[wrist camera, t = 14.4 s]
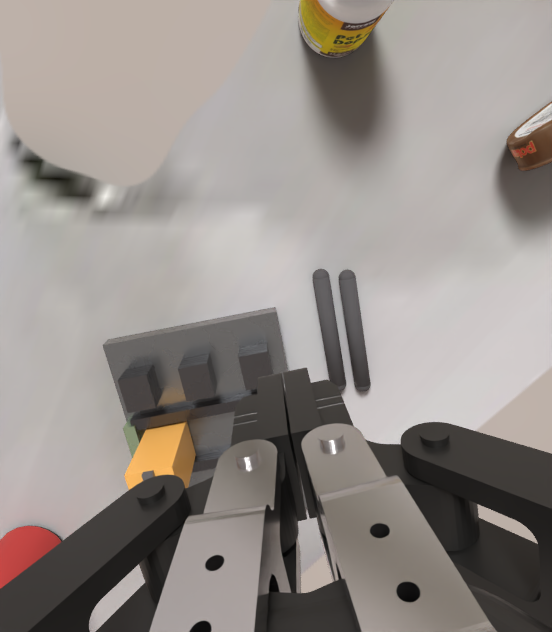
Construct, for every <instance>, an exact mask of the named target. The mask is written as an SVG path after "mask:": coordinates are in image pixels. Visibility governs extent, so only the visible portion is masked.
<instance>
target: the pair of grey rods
mask: <svg viewBox="0 0 552 632" xmlns="http://www.w3.org/2000/svg"><path fill="white" fill-rule="evenodd" d="M313 283H314V289H315V295H316V301H317V307H318V313H319V319H320V325H321V331H322V336H323V342H324V348H325V354H326V360H327V366H328V372H329V378H330V382H332V383H334V384H335V385H337V386H338V389H339V391H341V390H343V389H344V388H345V386H346V380H345V374H344V367H343V361H342V355H341V348H340V342H339V336H338V329H337V323H336V317H335V310H334V304H333V298H332V291H331V285H330V279H329V274H328V272H327V271H326V270H324V269H318V270H316V271H315V272H314V274H313ZM339 283H340V290H341V296H342V303H343V309H344V316H345V322H346V329H347V336H348V342H349V349H350V355H351V362H352V368H353V375H354V382H355V387H356V388H357V389H358V390H359V391H367V390H368V389H369V388H370V377H369V370H368V362H367V355H366V348H365V341H364V334H363V327H362V320H361V313H360V306H359V299H358V292H357V285H356V278H355V274H354V273H353V272H352V271H351V270H344V271H342V272H341V273H340V275H339Z"/></svg>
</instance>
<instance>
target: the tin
mask: <svg viewBox="0 0 552 632" xmlns="http://www.w3.org/2000/svg"><path fill="white" fill-rule="evenodd" d="M507 145H508V148H509V150H510V151H511V153H512V155H513V157H514V158H515V160H516V162H517V163H518V168H519V170H521V171H527V170H531V169H535V168H538V167H541V166H543V165H546V164H548V163H551V162H552V102H550V103H549V104H547V105H546V106H545V107H543V108H542V109H541V110H539V111H538V112H537V113H535V114H534V115H533V116H531V117H530V118H529V119H527V120H526V121H525V122H524V123H522V124H521V125H520V126H519V127H518V128H517V129H515V130H514V131H513V132H512V133H511V134H510V136H509V137H508V139H507Z"/></svg>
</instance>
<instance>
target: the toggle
mask: <svg viewBox="0 0 552 632" xmlns="http://www.w3.org/2000/svg"><path fill="white" fill-rule="evenodd" d="M195 456H196V453H195V449H194V446H193V442H192V438H191V435H190V431H189V427H188V424H187V421H183V422H178V423H172V424H167V425H162V426H157V427H152V428H147V429H146V431H145V433H144V435H143V437H142V439H141V441H140V443H139V446H138V448H137V450H136V452H135V454H134V456H133V458H132V461H131V463H130V465H129V467H128V469H127V471H126V473H125V475H124V476H125V479H126V482H127V485H128V488H129V490H130V489H131V488H133V487H134V486H136V485H137V484H139V483H140V482H142V481H144V480H146V479H149V478H152V477H155V476H159V475H175V476H178V477H180V478H181V479H182V480H183V482H184V485H185V489H186V488H188V486H189V482H190V478H191V473H192V469H193V465H194V460H195Z"/></svg>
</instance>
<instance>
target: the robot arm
mask: <svg viewBox="0 0 552 632" xmlns="http://www.w3.org/2000/svg"><path fill="white" fill-rule="evenodd" d="M283 375H284V382H283V378H282V374H281V373H278V374H273V375H268V376H263V377H258V381H257V394H255V395H250V396H245V397H243V398H242V399H241V400H240V401H239V403H238V404H237V405H236V406H235V413H234V422H233V425H234V426H233V431H232V439H231V447H230V448H229V449H227V450H226V451H225V452H224V453H223V454H222V455H221V456H220V458H219V460H218V462H217V466H216V470H215V473H214V476H212V477H211V478H209V479H207V480H205V481H203V482H200V483H198V484H196V485H193V486H191V487H188V488H186V489H185V485H184V482H183V480H182V479H181V478H180V477H178V476H175V475H159V476H155V477H152V478H149V479H146V480H144V481H142V482H140V483H139V484H137V485H136V486H134V487H133V488H131V489H130V490H129V491H127V492H126V493H125V494H123V495H122V496H121V497H120V498H118V499H117V500H116V501H114V502H113V503H112V504H110V505H109V506H108V507H106V508H105V509H104V510H103V511H101V512H100V513H99V514H97V515H96V516H95V517H93V518H92V519H91V520H90V521H88V522H87V523H86V524H84V525H83V526H82V527H80V528H79V529H78V530H76V531H75V532H74V533H73V534H71V535H70V536H69V537H67V538H66V539H65V540H63V541H62V542H61V543H59V544H58V545H57V546H56V547H54V548H53V549H52V550H50V551H49V552H48V553H46V554H45V555H44V556H42V557H41V558H40V559H39V560H37V561H36V562H35V563H33V564H32V565H31V566H29V567H28V568H27V569H26V570H24V571H23V572H22V573H20V574H19V575H18V576H16V577H15V578H14V579H12V580H11V581H10V582H9V583H7V584H6V585H5V586H3V587H2V588H1V589H0V632H90V631H89V620H90V616H91V613H92V611H93V609H94V608H95V606H96V605H97V603H98V602H99V601H100V600H101V599H102V598H103V597H104V596H105V595H106V594H107V593H108V592H109V591H110V590H111V589H112V588H113V587H115V586H116V585H117V584H118V583H119V582H120V581H121V580H122V579H123V578H124V577H125V576H126V575H127V574H128V573H130V572H131V571H132V570H133V569H134V568H135V567H136V566H137V565H138V564H139V565H140V568H141V571H142V574H143V577H144V579H145V583H144V584H143V585H142V586H141V587H140V588H139V589H138V590H137V591H136V592H135V593H134V594H133V595H132V596H131V597H130V598H129V599H128V600H127V601H126V602H125V603H124V604H123V605H122V606H121V607H120V608H119V609H118V610H117V611H116V612H115V613H114V614H113V615H112V616H111V617H110V618H109V619H108V620H107V621H106V622H105V623H104V624H103V625H102V626H101V627H100V628H99V629H98V630H97V631H96V632H552V454H550V453H547V452H544V451H540V450H537V449H533V448H530V447H527V446H524V445H520V444H516V443H513V442H510V441H507V440H503V439H500V438H496V437H493V436H490V435H486V434H483V433H479V432H476V431H473V430H469V429H466V428H462V427H459V426H456V425H452V424H448V423H442V422H429V423H422V424H418V425H415V426H413V427H411V428H409V429H408V430H406V431H405V432H404V433H403V435H402V437H401V444H378V443H373V442H370V441H367V440H365V438H364V437H363V435H362V433H361V432H360V431H359V430H358V429H357V428H355V427H354V426H353V423H352V421H351V418H350V416H349V413H348V411H347V408H346V406H345V404H344V401H343V399H342V396H341V394H340V391H339V389H338V386H337V385H335V384H334V383H332V382H330V381H329V380H323V381H318V382H313V383H311V382H310V378H309V375H308V371H307V368H302V369H297V370H292V371H287V372H283ZM284 383H285V387H284ZM302 486H303V488H302ZM303 490H304V495H305V499H306V504H307V508H308V513H309V517H310V518H315V517H317V521H318V525H319V530H320V534H321V539H322V544H323V548H324V551H325V555H326V558H327V562H328V566H329V569H330V573H331V576H332V580H333V582H332V583H330V584H328V585H326V586H323V587H321V588H319V589H317V590H315V591H312V592H309V593H301V566H300V546H299V542H298V521H301V520H306V519H307V516H306V509H305V502H304V495H303ZM477 504H479V505H481V506H484V507H486V508H489V509H491V510H493V511H496V512H498V513H500V514H503V515H505V516H508V517H510V518H512V519H515V520H517V521H519V522H520V523H522V524H523V525H524V526H526V527H527V528H528V529H529V530H530V531H531V532H532V533H533V535H534V536H535V538H536V540H537V542H538V544H536V543H534V542H532V541H530V540H528V539H525V538H523V537H521V536H519V535H516V534H514V533H512V532H510V531H507V530H505V529H503V528H501V527H498V526H496V525H494V524H492V523H489V522H487V521H485V520H483V519H480V518H479V517H478V508H477Z"/></svg>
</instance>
